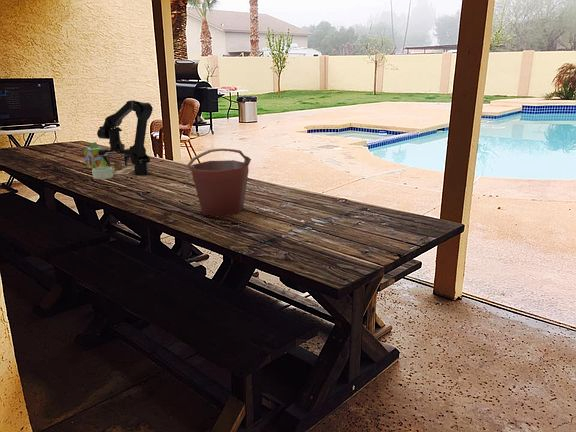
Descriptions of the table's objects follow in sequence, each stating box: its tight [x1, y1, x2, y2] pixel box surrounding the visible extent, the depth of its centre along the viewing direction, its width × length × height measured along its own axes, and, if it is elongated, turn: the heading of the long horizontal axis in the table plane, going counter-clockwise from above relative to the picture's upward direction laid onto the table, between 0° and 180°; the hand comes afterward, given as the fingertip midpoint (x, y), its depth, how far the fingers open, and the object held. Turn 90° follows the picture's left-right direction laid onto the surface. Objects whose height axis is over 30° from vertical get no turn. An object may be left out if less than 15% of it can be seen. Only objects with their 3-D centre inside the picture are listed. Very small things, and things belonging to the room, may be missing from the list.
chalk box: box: [83, 141, 109, 170], centre depth 286 cm, size 9×9×15 cm
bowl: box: [91, 166, 114, 180], centre depth 259 cm, size 10×10×5 cm
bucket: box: [187, 148, 252, 218], centre depth 191 cm, size 24×22×25 cm
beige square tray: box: [112, 161, 134, 175], centre depth 273 cm, size 13×13×5 cm
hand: (118, 167), depth 273 cm, fingers open, 9 cm apart
